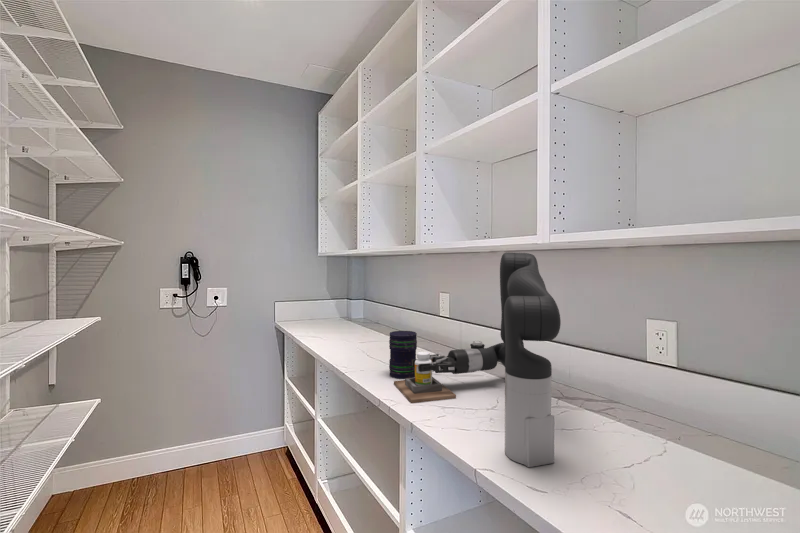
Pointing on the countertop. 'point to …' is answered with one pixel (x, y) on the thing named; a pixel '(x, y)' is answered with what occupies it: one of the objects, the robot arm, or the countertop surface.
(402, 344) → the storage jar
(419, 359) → the supplement bottle
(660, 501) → the countertop surface
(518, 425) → the robot arm
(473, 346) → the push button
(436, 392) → the dock board
